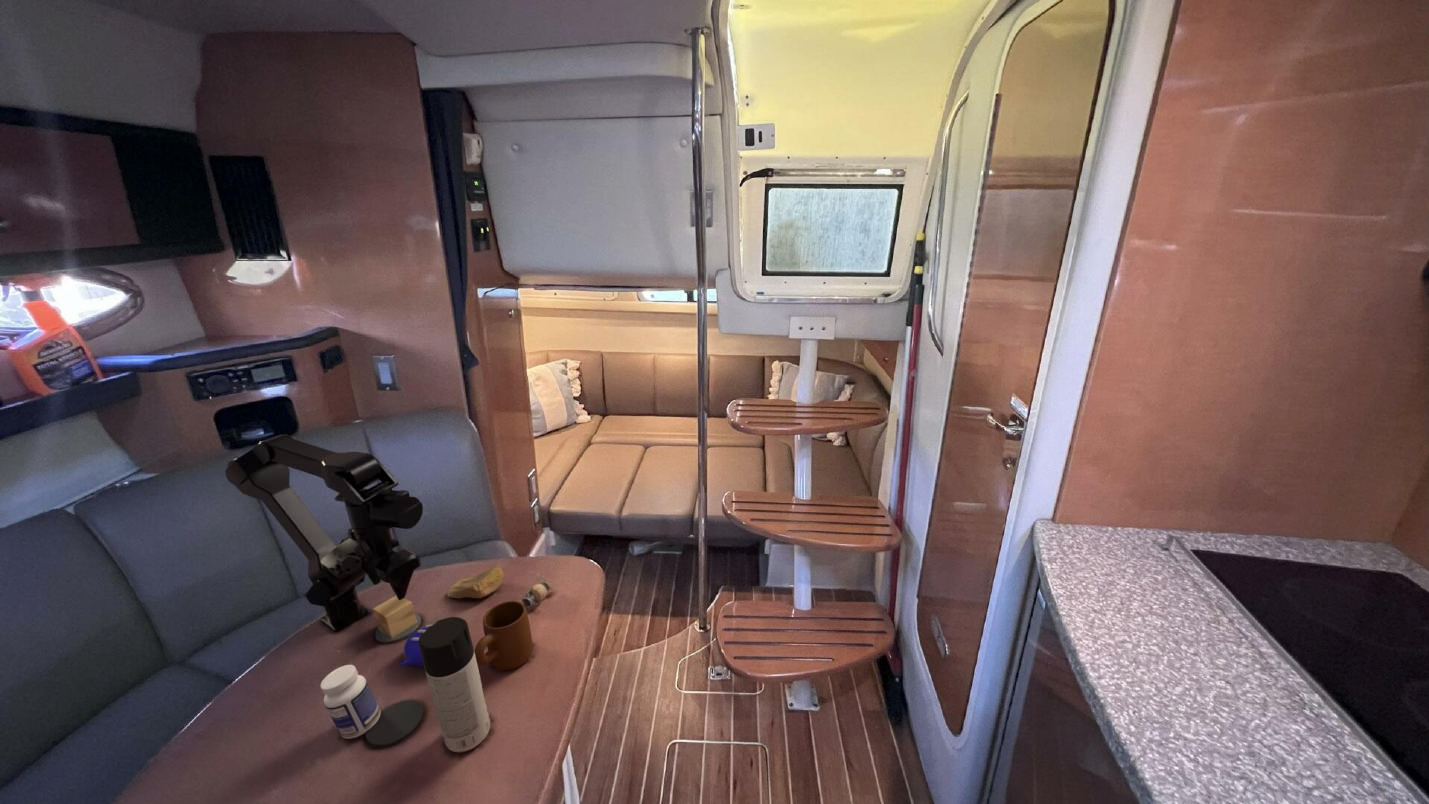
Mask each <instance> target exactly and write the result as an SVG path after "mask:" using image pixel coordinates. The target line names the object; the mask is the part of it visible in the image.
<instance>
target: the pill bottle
mask: <svg viewBox="0 0 1429 804" xmlns="http://www.w3.org/2000/svg"><path fill="white" fill-rule="evenodd" d="M320 689H321V691H322V693H323V695H324V697H323V704H324V707H325V708H326V710H327V713H328V714H329V716H330V718H331V720H332V722H333V723H334V726H335V727H336V729H337V731H338V733H339V734H340V735H339V736H341V737H342V738H344V739H347V740H349V739H355V738H358V737H360V736H362V735H364V734H366V732H367V731H368V730H369V729H371V728H372V727H373V726H374V725H375V724H376V722H377V721H378V719H379V717H380V713H381V711H382V710H381V707H380V706H379V704H378V702H377V700H376V698H375V696H374V694H373V691H372V690H371V688H370V685H369V683H368V681H367V680H366V678H365V677H364V676H363V675H361V674H359V671H358V669H357V668H356V666H355V665H353V664H345V665H342V666H340V667H337V668H335V669H334V670H332V671H331V672H330V673H328V674H327V675H326V676H325V677H324V678H323V679H322V681H321V683H320Z"/></svg>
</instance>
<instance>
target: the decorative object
mask: <svg viewBox="0 0 1429 804" xmlns="http://www.w3.org/2000/svg"><path fill="white" fill-rule="evenodd" d="M432 625H433V624H426V625H425V626H423V627H421V628H420V629H419V628H418V629H417V630H416V631H415V632H413V633H412V634H411V635H409V636H408V638H407V640H406V642H405V644H404V647H403V653H404V654H403V655H404V656H405V658H406V660H405V661H402V662H401V663H399V664H398V666H400V667H406V666H407V667H408V666H419V667H424V663H423V659H422V655H421V651H420V647H419V638H420V636H421V635H422V634H423V633H424V632H425V631H426V630H427V629H428V628H429V627H430V626H432Z"/></svg>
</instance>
